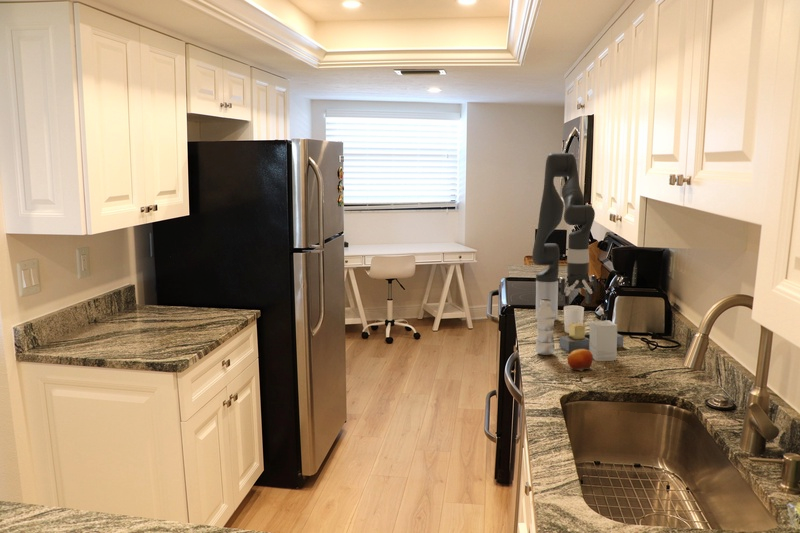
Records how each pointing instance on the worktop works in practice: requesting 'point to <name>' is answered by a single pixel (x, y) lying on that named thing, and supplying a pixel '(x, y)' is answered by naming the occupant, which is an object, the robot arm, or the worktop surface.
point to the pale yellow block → (576, 331)
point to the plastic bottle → (545, 328)
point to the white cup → (572, 315)
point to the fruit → (580, 359)
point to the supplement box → (603, 340)
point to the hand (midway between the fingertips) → (577, 304)
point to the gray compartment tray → (582, 343)
